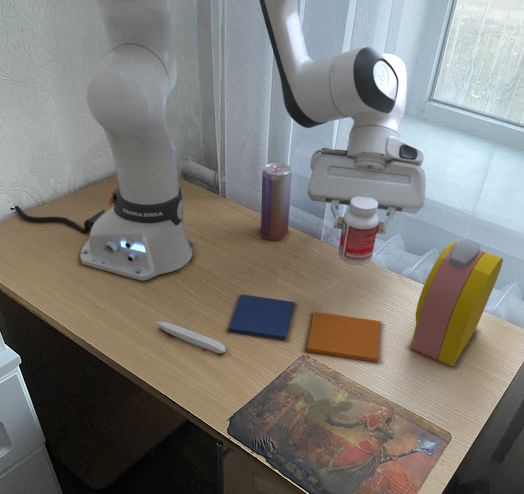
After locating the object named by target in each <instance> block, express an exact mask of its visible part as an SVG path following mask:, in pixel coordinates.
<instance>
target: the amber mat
mask: <svg viewBox="0 0 524 494" xmlns="http://www.w3.org/2000/svg"><path fill="white" fill-rule="evenodd" d="M312 314H313V315H312V319H311V323H310V324H311V325H310V328H309V329H310V330H309V333H308V340H307V345H306V349H305V350H306V352H308V353H315V354H322V355H328V356H329V355H330V356H334V357H341V358H349V359H354V360H361V361H367V362H375V363H378V361H379V354H380V353H379V352H380V351H379V350H380V334H381V321H380V320H376V319H368V318H360V317H353V316H347V315H341V314H340V315H339V314H334V313H326V312H319V311H313V313H312Z"/></svg>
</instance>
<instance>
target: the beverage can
mask: <svg viewBox="0 0 524 494" xmlns="http://www.w3.org/2000/svg"><path fill="white" fill-rule="evenodd" d="M261 175H262V177H261V178H262V179H261V204H260V205H261V207H260V233H261V235H262V236H263V237H264V238H265V239H268V240H271V241H279V240H282V239H284V238H285V237H286V236H287V235H288V233H289V221H290V219H289V218H290V205H291V193H292V192H291V190H292V178H293V177H292V176H293V174H292V168H291V166H289V164H286V163H282V162H269V163H268V164H265V165H264V166H263V170H262V173H261Z"/></svg>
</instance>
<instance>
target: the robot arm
mask: <svg viewBox="0 0 524 494" xmlns="http://www.w3.org/2000/svg"><path fill="white" fill-rule="evenodd" d="M94 2H95V3H96V5H97V6H98V8H99V11H100V13H101V16H102V20H103V24H104V27H105V32H106V35H107V45H108V49H107V54H106V56H105V57H103V59H102V60H100V61H99V62H98V63H97V64H96V66H94V69H93V70H92V74H91V76H90V79H89V81H88V85H87V90H86V102H87V107H88V109H89V112H90V114H91V115H92V117H93V119H94V120H95V121H96V122H97V124H98V125H99V126H101V127H102V129H103V131H104V133H105V136H106V139H107V142H108V143H109V145H110V149H111V152H112V156H113V160H114V167H115V172H116V178H117V184H116V188H115V189H114V190H113V191H112V192H111V196H110V197H109V198H108V200H107V202H108V206H109V207H110V208H108V209H107V210H104V209H102V210H101V211H98V212H97V213H96V214H94V215H93V216H91V217H89V218H87V219H85V220H84V222H83V227H84V228H83V227H81V226H79V225H78V224H77V223H76V222H74V221H73V220H71V219H69V218H67V217H64V216H63V217H62V216H31V215H28V214H26V213H25V212H24V211H23V210H22V209H21V208H20V206H19V205H17V206H15V209H14V208H11V207H10V209H9V210H10V211H16V212H17V214H19V216H20V217H21V218H22V219H24V220H26V221H30V222H38V223H41V222H43V223H44V222H61V223H64V224H67V225H69V226H70V227H72V228H73V229H75V230H77V231H79V232H81V233H83V234H85V233H89V239H88V240H86V241H85V243H84V245H83V246H82V248H81V250H80V253H79V254H80V255H79V257H80V262H81V264H82V265H85V266H88V267H91V268H94V269H99V270H102V271H105V272H109V273H113V274H116V275H120V276H124V277H127V278H131V279H133V280H136V281H137V280H138V281H141V282H142V281H143V282H145V281H148V280H151V279H152V278H154V277H156V276H159V275H163V274H168V273H172V272H174V271H178V270H180V269H181V268H183V267H184V266H186V265H187V264H188V263H189V262H190V260H191V259H192V257H193V248H192V247H191V244H190V242H189V239H188V236H187V232H186V227H185V224H184V212H185V211H184V210H185V207H184V199H183V194H182V193H183V192H182V188H181V186H180V184H179V172H178V171H179V170H178V160H177V158H178V157H177V149H176V147H175V145H174V143H173V142H172V139H171V136H170V133H169V128H168V124H167V117H166V105H167V102H168V99H169V97H170V96H171V94H172V93H173V92H174V89H175V87H176V85H177V79H178V67H179V66H178V58H177V55H176V45H175V37H174V29H173V21H172V15H171V7H170V0H94ZM259 5H260V8H261V9H260V10H261V13H262V16H263V21H264V24H265V29H266V31H267V36H268V38H269V41H270V45H271V49H272V53H273V56H274V59H275V63H276V67H277V71H278V75H279V79H280V85H281V92H282V99H283V104H284V108H285V110H286V112H287V114H288V116H289V117H290V118H291V119H292V120H293V121H294V122H295V123H297V124H298V125H299V126H300V127H302V128H305V129H311V128H314V127H317V126H321V125H324V124H326V123H328V122H333V121H337V120H343V119H347V118H350V119H352V121H353V123H352V126H351V127H350V131H349V136H348V141H347V146H346V147H347V148H346V149H340V148H339V149H334V148H333V149H332V148H328V147H321V149H318V150H315V151H314V152H313V154H311V159H310V163H309V164H310V165H309V166H310V169H311V173H310V174H311V175H310V177H309V182H308V187H307V195H308V197H309V199H310V200H311V201H312V202H319V203H328V204H330V211H331V213H332V217H333V219H334V222H333V229H338V230H342V225H343V218H344V216H341V215H339V211H338V210H339V207H340V205H345V206H350V202H351V199H352V198H354V197H357V196H359V197H368V198H373V199H375V200H376V201H377V202H378V208H377V210H383V211H386V212H385V216H386V218H385V220H384V221H379V224H378V229H377V234H376V235H386V232H387V227H388V225H389V223H391V221H392V219H393V218H394V217H395V215H396V212H398V213H406V214H413V215H416V214H418V213H419V212H420V211H421V210H422V209H423V208H424V205H425V200H426V189H427V175H426V172H425V169H424V167H422V166H423V163H424V157H425V152H424V151H423V150H422V149H420V148H418V147H416V146H414V145H411V144H409V143H407V142H405V141H403V140H402V139H401V131H400V127H401V123H402V120H403V118H404V116H405V110H406V103H407V102H406V101H407V92H408V91H407V90H408V76H407V75H408V73H407V68H406V65H405V63H404V61H403V60H402V59H401V58H399V57H398V56H396V55H394V54H391V53H387V52H379V51H377V50H376V49H374V48H372V47H369V46H365V47H359V48H356V49H352V50H348V51H345V52H341V53H338V54H337V55H333V56H330V57H327V58H324V59H321V60H314V59H312V58H311V57H310V56H309V53H308V50H307V49H308V48H307V45H306V40H305V37H304V32H303V27H302V24H301V20H300V16H299V11H298V0H259ZM112 205H113V206H112ZM111 206H112V207H111Z"/></svg>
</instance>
